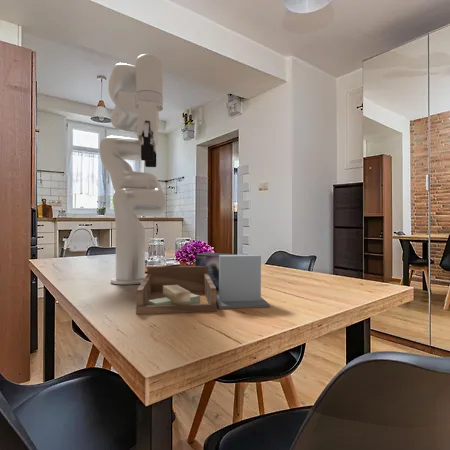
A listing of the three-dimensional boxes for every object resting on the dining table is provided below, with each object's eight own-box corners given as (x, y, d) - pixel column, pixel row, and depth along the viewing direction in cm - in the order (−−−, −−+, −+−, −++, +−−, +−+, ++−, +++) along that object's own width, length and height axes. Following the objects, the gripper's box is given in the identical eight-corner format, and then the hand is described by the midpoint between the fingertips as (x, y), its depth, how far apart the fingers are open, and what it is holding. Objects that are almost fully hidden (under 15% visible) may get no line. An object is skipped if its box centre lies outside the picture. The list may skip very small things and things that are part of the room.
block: (218, 298, 82) (218, 254, 82) (257, 297, 84) (257, 254, 84) (220, 301, 79) (220, 256, 79) (260, 300, 80) (260, 255, 80)
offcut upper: (174, 303, 72) (174, 293, 72) (162, 294, 81) (162, 285, 81) (190, 301, 73) (190, 291, 73) (176, 293, 82) (176, 284, 82)
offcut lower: (147, 311, 75) (147, 300, 75) (191, 303, 82) (191, 293, 82) (155, 314, 72) (155, 303, 72) (200, 306, 79) (200, 295, 79)
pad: (213, 297, 86) (213, 295, 86) (257, 296, 88) (257, 293, 88) (218, 308, 74) (218, 306, 74) (269, 307, 76) (269, 304, 76)
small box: (193, 288, 99) (193, 253, 99) (205, 284, 105) (205, 252, 105) (224, 291, 94) (224, 255, 94) (234, 287, 100) (234, 253, 100)
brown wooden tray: (147, 291, 94) (147, 266, 94) (207, 289, 97) (207, 266, 97) (136, 314, 70) (136, 281, 70) (216, 311, 72) (216, 279, 72)
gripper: (139, 112, 99) (139, 168, 99) (130, 89, 82) (130, 157, 82) (164, 113, 100) (164, 169, 100) (161, 90, 83) (160, 157, 83)
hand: (149, 163), depth 91 cm, fingers open, 9 cm apart
